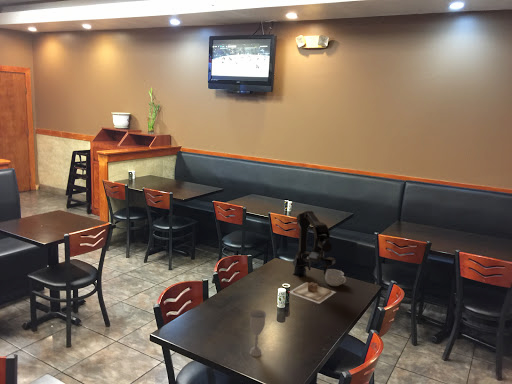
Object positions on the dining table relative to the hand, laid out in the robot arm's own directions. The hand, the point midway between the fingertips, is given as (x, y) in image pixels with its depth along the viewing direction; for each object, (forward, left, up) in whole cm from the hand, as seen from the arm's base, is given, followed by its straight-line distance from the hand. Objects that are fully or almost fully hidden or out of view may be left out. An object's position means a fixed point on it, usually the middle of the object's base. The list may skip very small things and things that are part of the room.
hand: (316, 272), depth 234 cm
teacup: (+4, +17, -12) cm, 22 cm away
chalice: (+11, -71, -12) cm, 73 cm away
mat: (-1, -2, -12) cm, 12 cm away
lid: (-1, -2, -12) cm, 12 cm away
